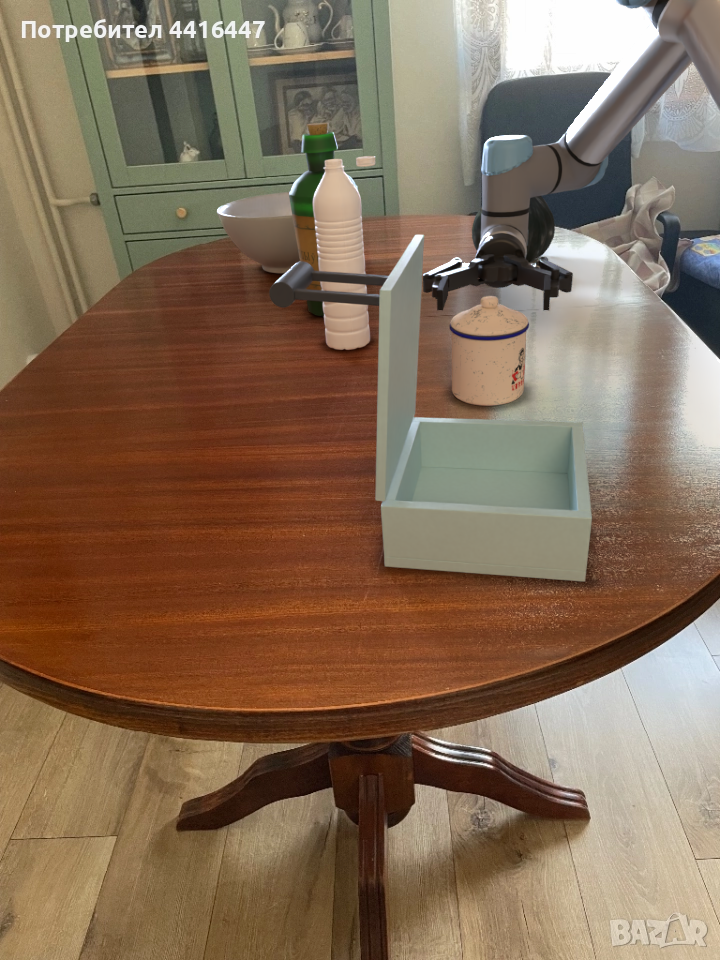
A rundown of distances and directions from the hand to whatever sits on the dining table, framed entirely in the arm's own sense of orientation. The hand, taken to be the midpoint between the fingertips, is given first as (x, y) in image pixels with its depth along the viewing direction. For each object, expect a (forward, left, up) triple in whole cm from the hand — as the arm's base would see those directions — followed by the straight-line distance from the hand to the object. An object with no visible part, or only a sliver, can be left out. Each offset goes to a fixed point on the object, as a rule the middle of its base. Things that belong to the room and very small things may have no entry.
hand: (492, 300), depth 93 cm
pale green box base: (-2, +38, -8) cm, 39 cm away
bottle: (+27, -21, -8) cm, 35 cm away
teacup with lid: (0, +9, -8) cm, 12 cm away
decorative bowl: (+43, -50, -8) cm, 66 cm away
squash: (-1, -51, -8) cm, 51 cm away
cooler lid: (+5, +38, +7) cm, 39 cm away
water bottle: (+20, -6, -8) cm, 22 cm away
